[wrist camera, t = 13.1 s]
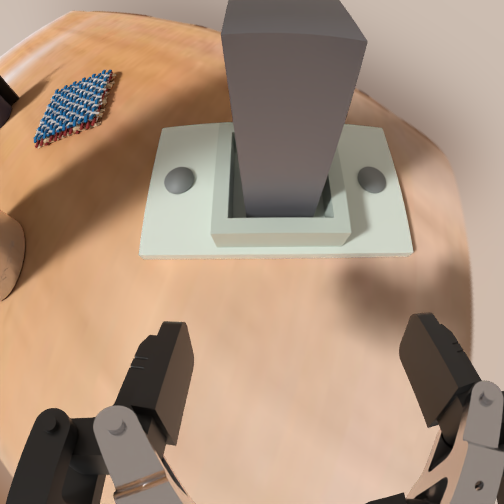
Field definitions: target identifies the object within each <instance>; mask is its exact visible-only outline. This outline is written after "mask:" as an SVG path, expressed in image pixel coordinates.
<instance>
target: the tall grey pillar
mask: <svg viewBox="0 0 504 504" xmlns="http://www.w3.org/2000/svg"><path fill="white" fill-rule="evenodd" d="M221 39H222V46H223V53H224V61H225V68H226V75H227V82H228V89H229V96H230V104H231V111H232V118H233V125H234V132H235V139H236V147H237V154H238V161H239V168H240V175H241V182H242V189H243V197H244V204H245V211H246V218H313V216H314V214H315V211H316V208H317V205H318V202H319V199H320V196H321V193H322V191H323V188H324V185H325V182H326V179H327V176H328V173H329V170H330V167H331V164H332V161H333V158H334V155H335V152H336V148H337V145H338V142H339V139H340V136H341V133H342V129H343V126H344V123H345V120H346V116H347V113H348V110H349V106H350V103H351V100H352V96H353V93H354V89H355V86H356V82H357V79H358V75H359V72H360V68H361V64H362V60H363V57H364V53H365V49H366V46H367V40H366V38H365V37H364V35H363V34H362V32H361V31H360V29H359V28H358V26H357V24H356V23H355V22H354V20H353V19H352V17H351V16H350V14H349V13H348V12H347V10H346V9H345V8H344V6H343V5H342V3H341V2H340V1H339V0H229V1H228V5H227V9H226V14H225V18H224V23H223V27H222V32H221Z"/></svg>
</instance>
